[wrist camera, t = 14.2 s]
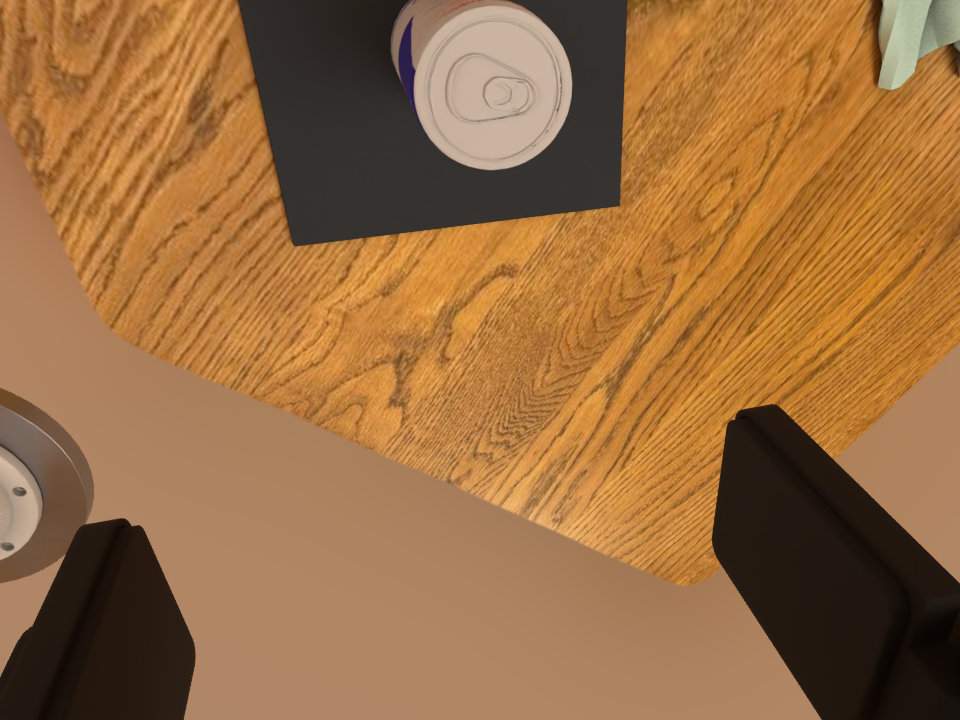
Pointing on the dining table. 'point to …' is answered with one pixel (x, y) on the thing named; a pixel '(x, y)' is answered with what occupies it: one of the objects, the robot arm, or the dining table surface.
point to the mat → (398, 135)
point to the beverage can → (482, 79)
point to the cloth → (914, 35)
